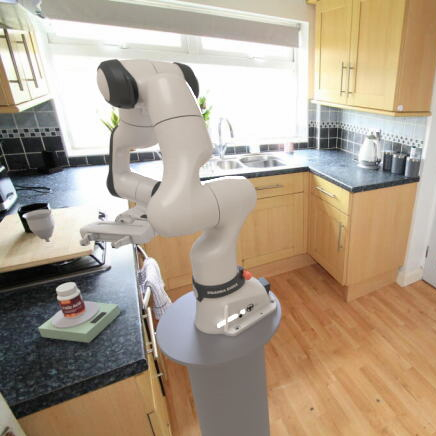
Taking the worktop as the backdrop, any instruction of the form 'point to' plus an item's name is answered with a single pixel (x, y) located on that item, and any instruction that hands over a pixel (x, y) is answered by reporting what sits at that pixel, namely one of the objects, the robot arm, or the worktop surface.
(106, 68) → the robot arm
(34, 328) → the worktop surface
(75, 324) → the scale
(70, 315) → the pill bottle
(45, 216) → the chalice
